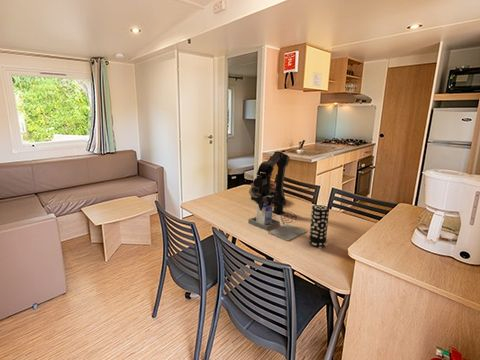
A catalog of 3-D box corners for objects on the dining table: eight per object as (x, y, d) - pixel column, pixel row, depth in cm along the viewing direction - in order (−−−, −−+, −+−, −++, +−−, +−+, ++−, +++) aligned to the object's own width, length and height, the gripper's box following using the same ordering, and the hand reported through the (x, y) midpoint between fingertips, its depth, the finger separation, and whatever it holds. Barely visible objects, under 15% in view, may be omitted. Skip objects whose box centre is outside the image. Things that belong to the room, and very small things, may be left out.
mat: (286, 224, 163) (287, 223, 163) (306, 232, 153) (306, 231, 153) (267, 233, 151) (267, 232, 151) (288, 241, 141) (288, 240, 141)
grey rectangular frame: (261, 218, 173) (261, 214, 172) (279, 225, 162) (279, 221, 162) (248, 223, 165) (248, 219, 164) (266, 230, 154) (266, 226, 154)
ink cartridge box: (272, 226, 160) (273, 203, 157) (264, 227, 158) (265, 204, 155) (263, 220, 169) (264, 198, 166) (255, 222, 167) (256, 199, 163)
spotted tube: (306, 240, 143) (309, 205, 138) (321, 240, 143) (325, 204, 139) (312, 248, 135) (315, 210, 130) (328, 247, 135) (332, 210, 131)
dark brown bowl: (249, 196, 221) (250, 177, 217) (279, 198, 217) (280, 178, 214) (246, 205, 197) (247, 184, 194) (279, 207, 194) (280, 185, 191)
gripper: (265, 179, 170) (264, 202, 173) (244, 184, 157) (244, 209, 160) (279, 182, 162) (278, 207, 165) (258, 187, 149) (257, 214, 153)
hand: (264, 209), depth 161 cm, fingers open, 6 cm apart
